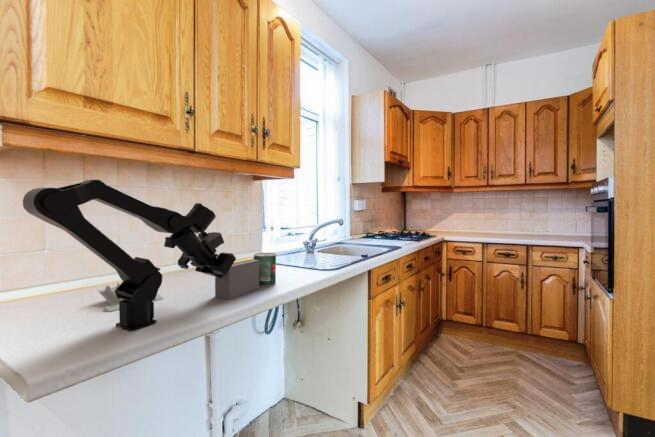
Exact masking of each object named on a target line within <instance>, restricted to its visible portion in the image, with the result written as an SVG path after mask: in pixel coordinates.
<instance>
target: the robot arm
mask: <svg viewBox="0 0 655 437" xmlns="http://www.w3.org/2000/svg"><path fill="white" fill-rule="evenodd" d="M91 201H96V202H99V203H101V204H103V205H105V206H108V207H111V208H112V209H115V210H118V211H120V212H123V213H125V214H128V215H129V216H132V217H134V218H137V219H139V220H141V222H142V223H144V224H145V225H146V226H147V227H149V228H151V229H153V230H154V231H156V232H158V233H166V234H170V236H166V237H164V245H163V247H164V248H169V249H174V248H176V247H177V248H178V249H179V250H180V251H181V252H182V253H181V255H180V257H179V258H178V260H177V266H178V267H180V268H181V269H185V270H188V269H189V267H190V266H189V265H188V264H189V262H190V265H191V266H192V267H195V272H199V273H202V274H205V275H208V276H211V277H214V278H215V277H218V278H222V277H223V275H225V274H227V272H228V271H229V269H230V268H231V266H232V265H233V263H234V261H237V257H236V256H235V255H234V253H232V252H219V254H218V253H217V248H218V247H219V246H221V245H223V244H225V241H224V238H223V235H222V232H215V231H214V232H213V231H212V232H206V230H207V229H208V228H209V226H210V225H211V224H212V223H213V221H214V220H216V217H217V216H216V214H215V212H214V211H213V210H211V209H210V208H209V207H206V206H204V205H203V204H202V203H201V202H196V203H195V204H194V205H193V206H192V208H191V209H190V211H188V212H187V213H186V215H183V213H181V212H179V211H176V210H173V209H169V208H164V207H159V206H156V205H152V204H150V203H147V202H146V201H143V200H141V199H138V198H137V197H134V196H133V195H130V194H128V193H126V192H124V191H122V190H119V189H117V188H115V187H113V186H111V185H109V184H106V182H104V181H103V180H101V179H86V180H83V181H82V182H79V183H78V182H77V183H74V184H69V185H65V186H60V187H37V188H33V189H31V190H29V191H27V192H26V193H25V194H24V196H23V198H22V206H23V209H24V210H25V211H26V212H27V213H28V214H30V215H32V216H34V217H35V218H36V219H37V218H38V219H39V220H41V221H43V222H45V223H47V224H50V225H51V226H54V227H56V228H59V229H60V230H63V231H64V232H66V233H67V234H68V235H69V236H71V237H72V238H74V239H75V240H77V242H79V243H80V244H82V245H83V246H84V247H86V248H87V249H88V250H89V251H91V252H92V253H93V254H94V255H96V256H97V257H98V258H100V259H101V260H102V261H104V262H105V263H106V264H108V265H109V266H110V267H112V268H113V269H114V270H115V271H116V272H117V274H118V276H119V278H120V279H121V281H122V282H121V283H119V284H120V285H119V286H118V288H117V289H116V290H115V294H116V296H117V298H118V299H123V300H122V301H119V310H118V311H119V322H117V323H115V326H116V327H119V328H121V329H124V330H128V331H130V332H131V331H136V330H137V329H140V328H143V327H147V326H150V325H152V324H153V325H154V324H156V323H157V319H154V318H155V302H152V300H155V298H156V295H158V291H159V289H160V287H161V286H162V283H163V274H162V272H160V271H161V268H159V267H157V266H155V265H154V264H153V262H152V261H151V260H150V259H148V258H143V257H138V256H135V257H134V258H133V256H131V255H130V254H129V253H127V252H126V251H125V250H124V249H122V247H121V246H119V245H118V244H116V243H115V242H114V241H112V239H111V238H110V237H108V236H107V235H106V234H105V233H103V232H102V231H101V230H99V229H98V227H97V226H95V225H93V224H92V222H90V221H89V220H88V219H86V218H85V216H84V214H83V212H82V211H81V209H80V207H79V206H81V205H83V204H86V203H88V202H89V203H90V202H91Z"/></svg>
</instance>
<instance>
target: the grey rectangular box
mask: <svg viewBox="0 0 655 437" xmlns="http://www.w3.org/2000/svg"><path fill="white" fill-rule="evenodd" d="M258 290H260V286H259V260H254V257H253V258H252V257H251V258H243V259H242V258H241V259H239V260H238V259H236V260H235V261H234V263H233V265H232V266H231V268H230V269H229V271H228V272H227V274H225V275H223V277H222V278H218V277H214V292H215V293H214V294H215V295H214V296H215V297H216V298H221V299H225V300H232V299H235V298H238V297H241V296H243V295H246V294H249V293H252V292H255V291H258Z"/></svg>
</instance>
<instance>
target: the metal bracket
mask: <svg viewBox="0 0 655 437" xmlns="http://www.w3.org/2000/svg"><path fill="white" fill-rule="evenodd" d="M120 284H121V283H119V282H118V283H117V284H116V287H115V286H114V287H111V286H110V285H106V286H105V288H104V289H100V290H99V289H98V290H97V291H98V293H99V294H100V295H101V296H102V297H103V298H104V299H105V300H106V301H107V303H109V304H110V305H106V306H105V307H104V310H106V311H107V313H112V312H117V311H119V301H122V300H123V299H118V298H117V296H116V294H115V290H116V289H117V288H118V286H119V285H120ZM162 300H164V297H163V296H161V295H160V294H158V293H157V295H156V298H155V300H152V302H154V303H155V302H159V301H162Z"/></svg>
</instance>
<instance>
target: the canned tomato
mask: <svg viewBox="0 0 655 437" xmlns="http://www.w3.org/2000/svg"><path fill="white" fill-rule="evenodd" d="M253 258H254V260H259V288H263V287H272V286H275V285H276V284H277V283H276V280H277V279H276V278H277V276H276V274H277V271H276V270H277V268H276V267H277V254H276V253H275V252H257V253H254V254H253Z"/></svg>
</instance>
